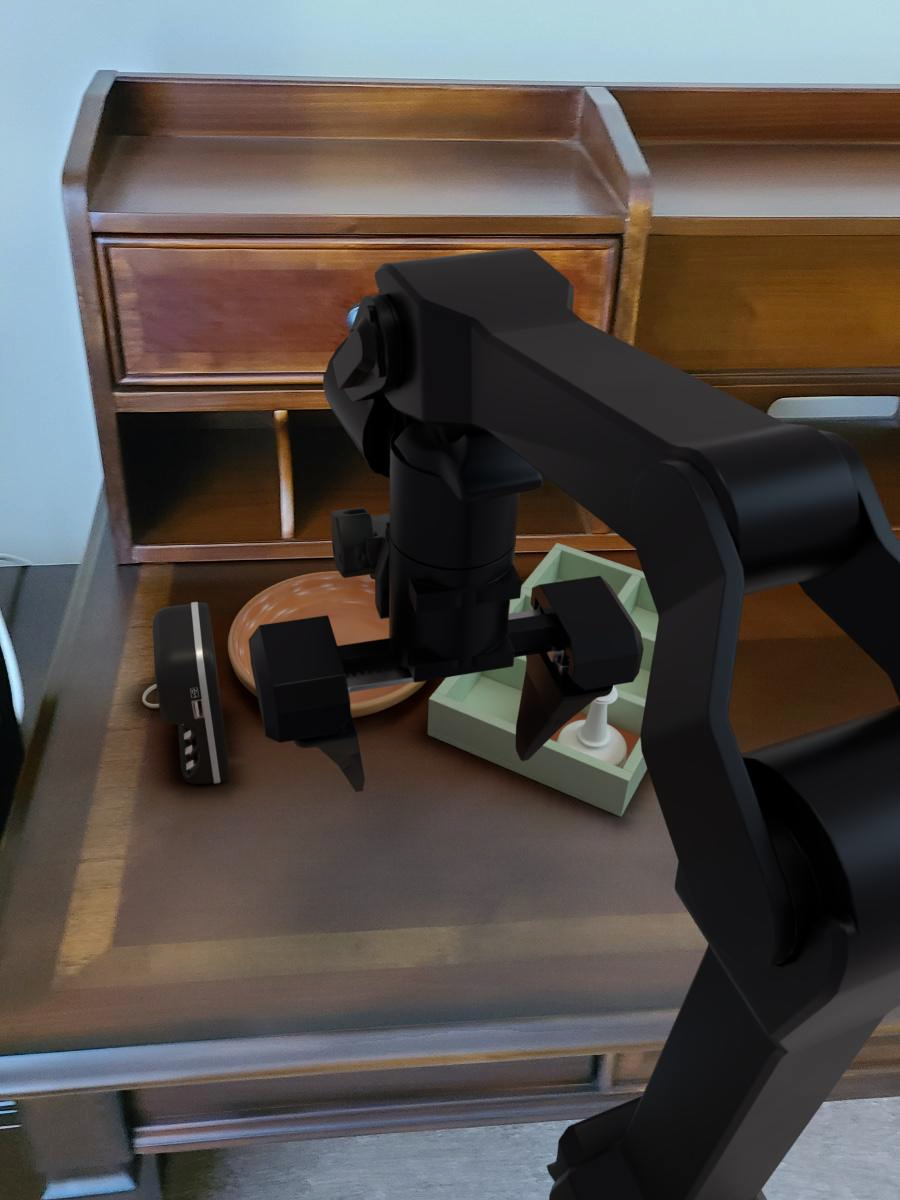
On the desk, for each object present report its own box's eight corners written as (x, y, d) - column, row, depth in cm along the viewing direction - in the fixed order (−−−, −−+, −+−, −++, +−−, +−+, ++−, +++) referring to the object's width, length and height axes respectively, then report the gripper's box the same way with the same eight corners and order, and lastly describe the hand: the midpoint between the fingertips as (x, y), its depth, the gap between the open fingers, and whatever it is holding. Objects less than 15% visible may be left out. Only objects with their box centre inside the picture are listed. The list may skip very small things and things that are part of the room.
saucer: (298, 577, 90) (296, 548, 88) (473, 631, 85) (475, 602, 83) (188, 696, 78) (183, 665, 76) (384, 767, 74) (384, 736, 72)
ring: (151, 675, 79) (187, 678, 78) (155, 687, 79) (191, 690, 78) (133, 699, 77) (169, 703, 76) (137, 711, 77) (174, 715, 76)
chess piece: (630, 779, 72) (654, 670, 66) (558, 776, 72) (575, 667, 66) (622, 727, 76) (644, 619, 70) (553, 724, 76) (569, 616, 70)
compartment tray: (621, 817, 71) (629, 781, 69) (427, 734, 76) (428, 698, 74) (719, 634, 86) (728, 600, 84) (552, 576, 91) (556, 542, 89)
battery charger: (168, 721, 76) (146, 596, 69) (222, 713, 77) (206, 589, 70) (173, 795, 71) (149, 667, 64) (231, 786, 72) (214, 659, 64)
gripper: (580, 424, 56) (551, 648, 66) (222, 463, 52) (247, 697, 61) (671, 544, 48) (622, 780, 58) (253, 603, 43) (277, 848, 53)
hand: (441, 769), depth 58 cm, fingers open, 9 cm apart
